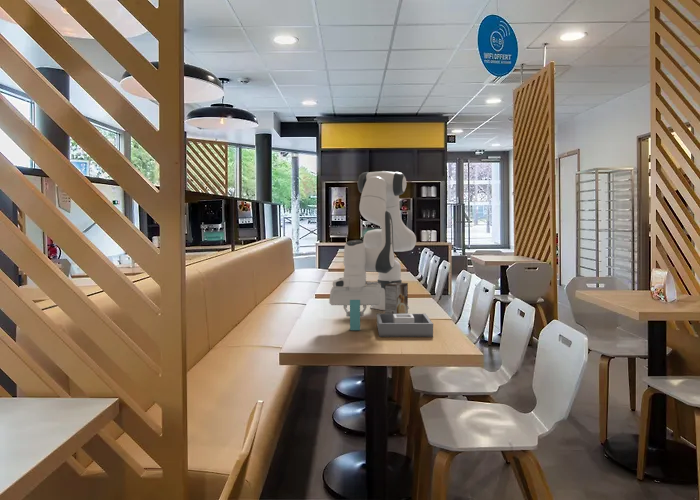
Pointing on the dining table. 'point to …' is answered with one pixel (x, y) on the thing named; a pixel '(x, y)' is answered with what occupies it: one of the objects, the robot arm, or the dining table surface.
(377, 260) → the robot arm
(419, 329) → the inlet box
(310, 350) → the dining table surface
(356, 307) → the connector peg
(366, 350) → the dining table surface
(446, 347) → the dining table surface
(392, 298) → the coffee box
